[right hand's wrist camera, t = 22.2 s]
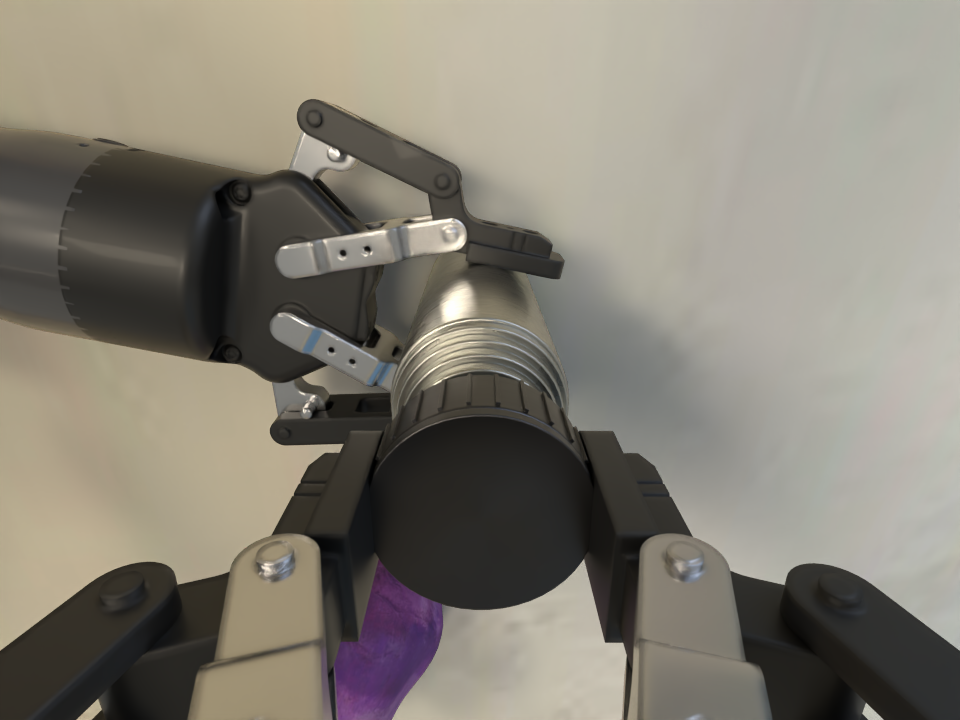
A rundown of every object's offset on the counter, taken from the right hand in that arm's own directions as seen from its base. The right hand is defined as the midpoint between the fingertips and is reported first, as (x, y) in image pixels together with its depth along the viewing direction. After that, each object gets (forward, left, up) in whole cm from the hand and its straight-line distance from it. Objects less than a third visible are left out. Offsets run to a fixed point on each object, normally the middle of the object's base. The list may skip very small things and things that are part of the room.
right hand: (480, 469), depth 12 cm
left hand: (+2, +1, -11) cm, 11 cm away
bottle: (0, 0, -17) cm, 17 cm away
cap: (0, 0, +2) cm, 2 cm away
